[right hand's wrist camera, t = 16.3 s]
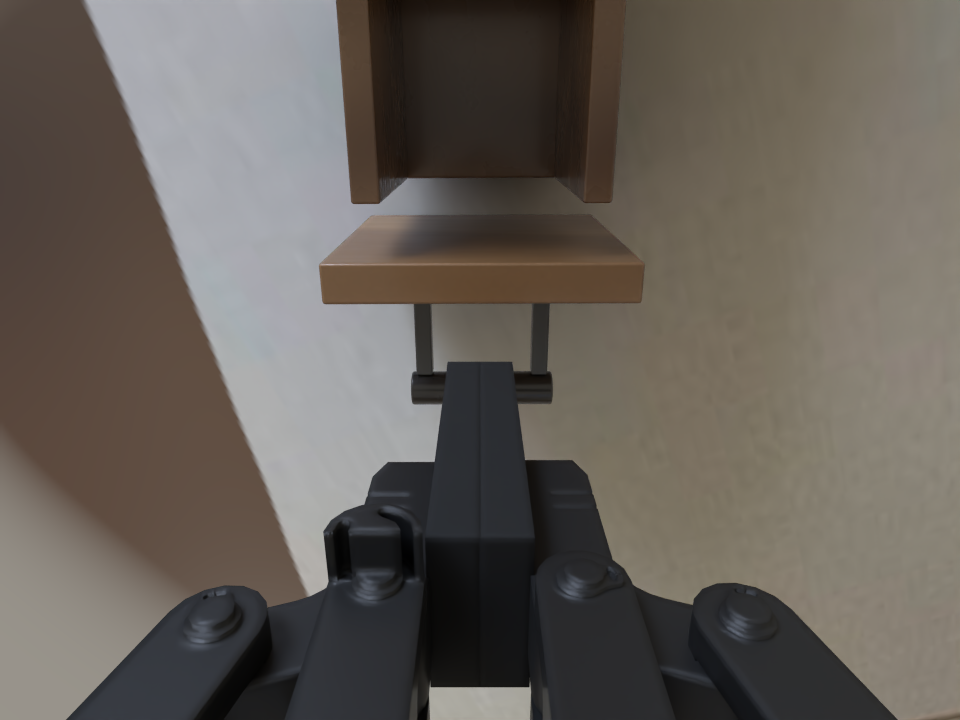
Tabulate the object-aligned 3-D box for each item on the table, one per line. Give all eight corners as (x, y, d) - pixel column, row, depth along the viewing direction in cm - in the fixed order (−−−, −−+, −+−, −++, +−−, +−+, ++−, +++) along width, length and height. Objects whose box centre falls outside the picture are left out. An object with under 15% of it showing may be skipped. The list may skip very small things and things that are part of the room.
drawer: (583, 361, 28) (626, 466, 20) (380, 362, 28) (337, 466, 20) (623, -315, 20) (728, -627, 12) (335, -314, 20) (230, -626, 12)
